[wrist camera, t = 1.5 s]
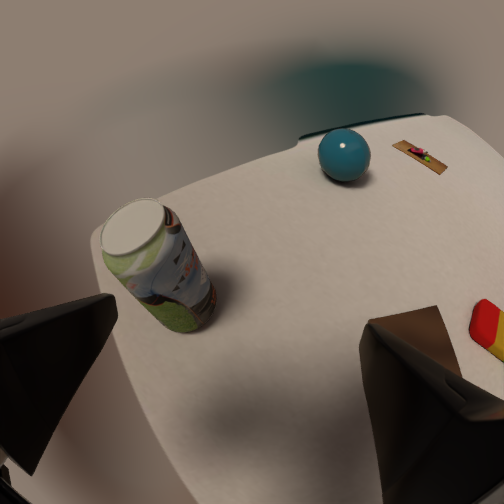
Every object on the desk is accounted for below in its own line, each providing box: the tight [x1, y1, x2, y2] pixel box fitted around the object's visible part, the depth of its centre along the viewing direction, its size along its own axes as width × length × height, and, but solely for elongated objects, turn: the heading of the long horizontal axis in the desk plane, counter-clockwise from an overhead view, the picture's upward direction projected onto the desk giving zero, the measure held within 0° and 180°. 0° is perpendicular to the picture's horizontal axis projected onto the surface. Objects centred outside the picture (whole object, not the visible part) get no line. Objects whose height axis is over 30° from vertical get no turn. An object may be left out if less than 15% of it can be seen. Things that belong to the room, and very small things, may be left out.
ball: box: [318, 129, 371, 182], centre depth 37 cm, size 8×8×8 cm
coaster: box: [368, 305, 462, 377], centre depth 21 cm, size 9×9×1 cm
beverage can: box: [100, 198, 217, 332], centre depth 21 cm, size 6×7×12 cm
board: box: [392, 140, 448, 175], centre depth 46 cm, size 6×12×2 cm, turn 38°
